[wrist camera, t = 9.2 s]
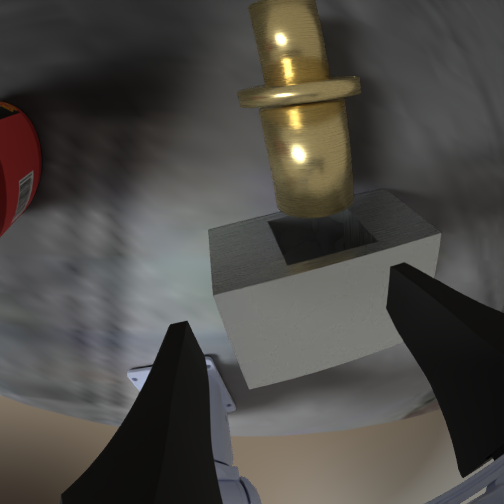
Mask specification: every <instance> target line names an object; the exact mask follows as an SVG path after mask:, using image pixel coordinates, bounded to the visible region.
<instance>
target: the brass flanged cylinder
mask: <svg viewBox="0 0 504 504" xmlns="http://www.w3.org/2000/svg"><path fill="white" fill-rule="evenodd" d="M248 9H249V13H250V18H251V22H252V26H253V31H254V35H255V40H256V44H257V49H258V53H259V58H260V62H261V67H262V72H263V77H264V82H265V85H260V86H255V87H251V88H247V89H243V90H240V91H238V92H237V94H238V98H239V103H240V107H242V108H257V107H262V108H260V109H259V112H260V117H261V122H262V127H263V132H264V137H265V143H266V148H267V153H268V158H269V163H270V169H271V174H272V180H273V185H274V190H275V196H276V202H277V207H278V209H279V210H280V211H281V212H283V213H284V214H287V215H289V216H293V217H299V218H319V217H326V216H330V215H334V214H337V213H340V212H342V211H344V210H346V209H347V208H349V207H350V206H351V205H352V203H353V202H354V187H353V173H352V160H351V149H350V138H349V129H348V120H347V112H346V104H345V99H343V97H349V96H354V95H357V94H360V93H361V85H360V78H359V77H356V76H332V77H330V71H329V65H328V59H327V54H326V48H325V43H324V38H323V33H322V28H321V23H320V19H319V14H318V10H317V6H316V1H315V0H261V1H258V2H255V3H253V4H251V5H250V6H249V7H248Z"/></svg>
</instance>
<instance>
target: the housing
mask: <svg viewBox="0 0 504 504" xmlns="http://www.w3.org/2000/svg"><path fill="white" fill-rule="evenodd" d="M208 234H209V249H210V263H211V276H212V289H213V297H214V299H215V302H216V305H217V308H218V310H219V313H220V316H221V318H222V321H223V324H224V327H225V329H226V332H227V334H228V337H229V340H230V342H231V345H232V348H233V350H234V353H235V355H236V358H237V360H238V363H239V366H240V368H241V371H242V373H243V376H244V378H245V381H246V383H247V386H248V388H249V389H253V388H258V387H262V386H266V385H270V384H274V383H278V382H282V381H286V380H290V379H293V378H297V377H301V376H304V375H308V374H311V373H315V372H318V371H321V370H325V369H328V368H331V367H334V366H337V365H340V364H344V363H347V362H350V361H353V360H355V359H358V358H361V357H364V356H367V355H370V354H373V353H375V352H378V351H381V350H383V349H386V348H389V347H391V346H394V345H396V344H399V343H401V342H404V341H403V339H402V338H401V336H400V335H399V333H398V332H397V330H396V328H395V326H394V324H393V322H392V320H391V318H390V316H389V314H388V311H387V309H386V304H387V295H388V286H389V275H390V266H394V265H397V264H400V263H403V262H405V263H407V264H409V265H411V266H413V267H415V268H417V269H419V270H420V271H422V272H424V273H426V274H427V275H429V276H431V277H433V278H434V276H435V271H436V265H437V260H438V254H439V247H440V240H441V232H440V231H439V230H437V229H436V228H435V227H434V226H433V225H431V224H430V223H429V222H428V221H426V220H425V219H424V218H423V217H421V216H420V215H419V214H417V213H416V212H415V211H414V210H412V209H411V208H410V207H408V206H407V205H406V204H404V203H403V202H402V201H400V200H399V199H398V198H396V197H395V196H394V195H392V194H391V193H390V192H388V191H387V190H385V189H380V190H376V191H371V192H366V193H362V194H357V195H354V202H353V203H352V205H351V206H350V207H349V208H347V209H346V210H344V211H342V212H340V213H337V214H334V215H330V216H326V217H319V218H299V217H293V216H289V215H287V214H284V213H283V212H279V213H274V214H270V215H266V216H262V217H258V218H254V219H250V220H246V221H242V222H238V223H234V224H230V225H226V226H222V227H218V228H214V229H210V230H208Z"/></svg>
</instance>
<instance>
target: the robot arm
mask: <svg viewBox="0 0 504 504" xmlns="http://www.w3.org/2000/svg"><path fill="white" fill-rule="evenodd" d="M386 309H387V311H388V314H389V316H390V318H391V320H392V322H393V324H394V326H395V328H396V330H397V332H398V333H399V335H400V336H401V338H402V339H403V341H404V343H405V344H406V346H407V347H408V349H409V350H410V352H411V353H412V355H413V356H414V358H415V360H416V361H417V363H418V364H419V366H420V367H421V369H422V371H423V372H424V374H425V376H426V377H427V379H428V381H429V383H430V385H431V387H432V389H433V391H434V394H435V396H436V398H437V400H438V403H439V405H440V408H441V410H442V413H443V416H444V418H445V421H446V424H447V427H448V430H449V433H450V436H451V439H452V443H453V447H454V451H455V455H456V459H457V464H458V469H459V472H460V474H461V476H462V477H463V478H464V477H466V476H467V475H469V474H470V473H472V472H473V471H475V470H477V469H478V468H480V467H481V466H483V465H484V464H485V463H487V462H488V461H490V460H491V459H494V462H492V463H491V464H490V465H488V466H487V467H485V468H484V469H482V470H481V471H479V472H478V473H476V474H475V475H474V476H472V477H470V478H469V479H467V480H466V481H464V482H462V483H461V484H459V485H458V486H456V487H454V488H452V489H451V490H449V491H447V492H445V493H444V494H442V495H440V496H438V497H436V498H435V499H433V500H431V501H429V502H427V503H425V504H460V503H461V502H463V501H465V500H466V499H468V498H469V497H471V496H472V495H474V494H475V493H477V492H478V491H480V490H481V489H483V488H484V487H486V486H487V485H488V486H487V488H486V492H485V493H484V494H482V495H481V496H479V497H477V498H476V499H474V500H472V501H470V502H469V503H467V504H504V313H502V312H500V311H497V310H495V309H493V308H490V307H488V306H486V305H484V304H481V303H479V302H477V301H475V300H473V299H471V298H469V297H467V296H465V295H463V294H462V293H460V292H458V291H456V290H454V289H452V288H450V287H449V286H447V285H445V284H443V283H442V282H440V281H438V280H436V279H434V278H433V277H431V276H429V275H427V274H426V273H424V272H422V271H420V270H419V269H417V268H415V267H413V266H411V265H409V264H407V263H405V262H403V263H400V264H397V265H394V266H390V275H389V286H388V295H387V304H386ZM127 376H128V378H129V379H130V380H131V381H132V383H133V384H134V385H135V386H136V387H137V389H138V390H139V391H140V393H139V395H138V396H137V398H136V400H135V402H134V404H133V406H132V408H131V409H130V411H129V413H128V414H127V416H126V418H125V419H124V421H123V423H122V424H121V426H120V427H119V429H118V430H117V432H116V433H115V435H114V436H113V437H112V439H111V440H110V442H109V443H108V444H107V446H106V447H105V448H104V450H103V451H102V452H101V453H100V455H99V456H98V457H97V458H96V459H95V461H94V462H93V463H92V464H91V466H90V467H89V468H88V469H87V470H86V471H85V472H84V473H83V474H82V475H81V476H80V477H79V478H78V479H77V480H76V481H75V482H74V483H73V484H72V485H71V486H70V487H69V488H68V489H67V490H66V491H65V492H64V493H62V494H61V501H60V504H261V500H260V496H259V494H258V492H257V490H256V488H255V487H254V486H253V485H252V484H251V482H250V481H249V480H248V479H247V478H245V477H242V476H241V477H239V472H238V467H235V466H232V464H233V451H232V445H231V437H230V430H229V422H228V415H227V413H228V412H233V411H235V410H236V406H235V404H234V402H233V400H232V398H231V396H230V394H229V392H228V390H227V388H226V386H225V384H224V382H223V380H222V378H221V376H220V374H219V372H218V370H217V368H216V366H215V364H214V362H213V360H212V358H210V357H205V356H204V354H203V352H202V350H201V348H200V346H199V344H198V342H197V340H196V338H195V336H194V334H193V332H192V329H191V327H190V325H189V323H188V321H184V322H179V323H174V324H170V326H169V327H168V330H167V332H166V335H165V337H164V340H163V342H162V345H161V347H160V349H159V352H158V354H157V356H156V359H155V361H154V363H153V365H152V367H147V368H140V369H134V370H129V371H128V373H127Z"/></svg>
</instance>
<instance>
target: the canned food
mask: <svg viewBox="0 0 504 504" xmlns="http://www.w3.org/2000/svg"><path fill="white" fill-rule="evenodd" d="M41 169H42V155H41V147H40V143H39V139H38V136H37V133H36V131H35V128H34V126H33V124H32V123H31V121H30V120H29V118H28V117H27V115H25V114H24V113H23V112H22V111H21V110H20V109H19V108H17V107H15V106H13V105H11V104H8V103H5V102H0V237H1V236H2V235H3V234H4V232H5V231H6V230H7V229H8V228H9V227H10V226H11V225H12V224H13V223H14V222H15V221H16V219H17V218H18V217H19V216H20V215H21V214H22V213H23V212H24V211H25V210H26V208H27V207H28V206H29V205H30V203H31V201H32V199H33V197H34V195H35V192H36V190H37V187H38V184H39V180H40V176H41Z"/></svg>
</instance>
